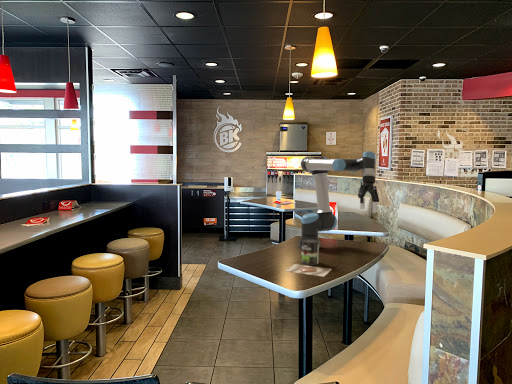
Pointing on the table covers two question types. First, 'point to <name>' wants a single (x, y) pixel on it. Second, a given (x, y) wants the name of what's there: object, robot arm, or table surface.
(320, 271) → the birch board
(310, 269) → the terracotta coaster
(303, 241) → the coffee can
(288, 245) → the table surface
